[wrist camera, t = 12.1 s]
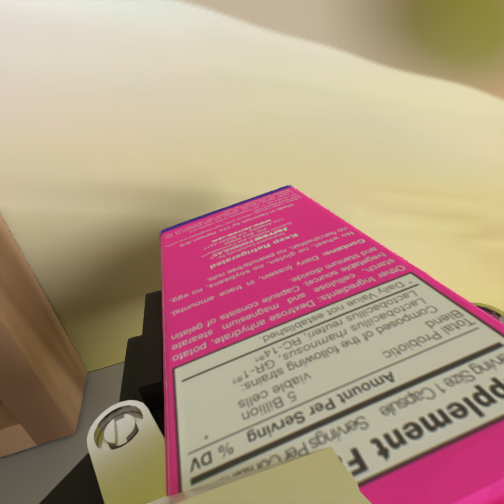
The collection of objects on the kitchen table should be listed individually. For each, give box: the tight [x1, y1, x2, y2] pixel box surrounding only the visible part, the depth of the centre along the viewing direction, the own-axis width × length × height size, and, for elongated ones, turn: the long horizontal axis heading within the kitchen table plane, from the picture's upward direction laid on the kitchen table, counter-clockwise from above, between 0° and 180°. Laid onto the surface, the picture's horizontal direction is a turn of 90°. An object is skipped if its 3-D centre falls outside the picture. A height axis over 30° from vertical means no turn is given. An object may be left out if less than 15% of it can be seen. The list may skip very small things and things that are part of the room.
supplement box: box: [160, 185, 504, 504], centre depth 9 cm, size 6×6×12 cm
